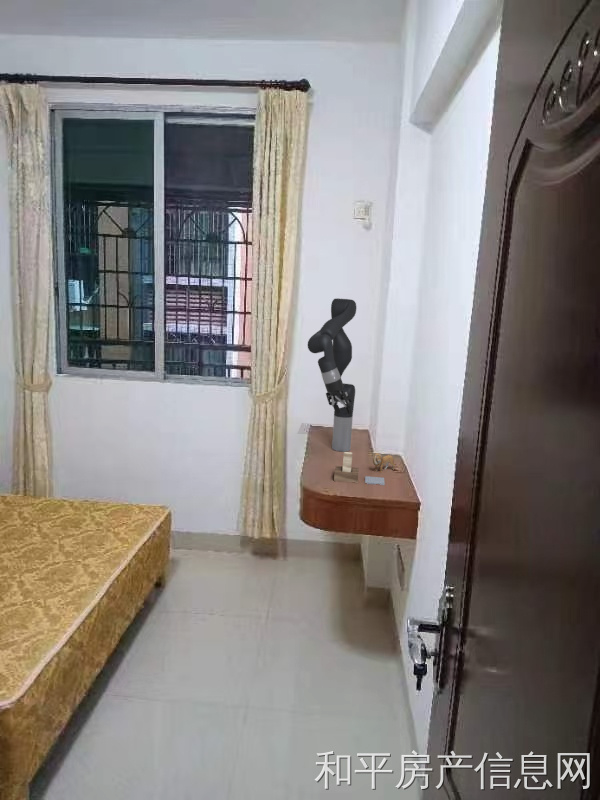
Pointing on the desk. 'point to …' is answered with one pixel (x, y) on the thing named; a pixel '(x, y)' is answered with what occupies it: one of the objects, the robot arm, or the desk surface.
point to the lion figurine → (382, 461)
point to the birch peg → (347, 462)
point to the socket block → (346, 475)
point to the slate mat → (374, 480)
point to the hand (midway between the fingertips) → (344, 413)
